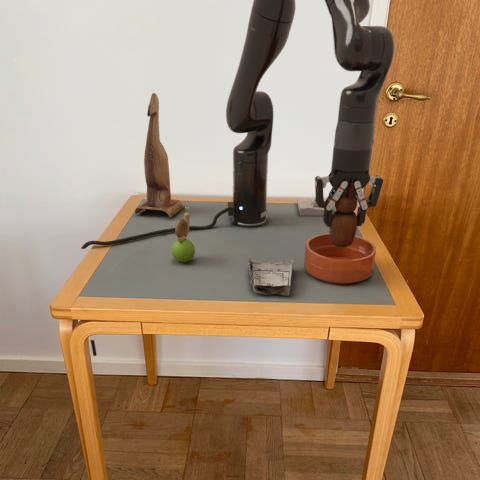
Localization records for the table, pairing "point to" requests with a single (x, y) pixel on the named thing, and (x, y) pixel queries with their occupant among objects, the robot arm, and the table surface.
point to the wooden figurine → (344, 220)
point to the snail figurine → (183, 240)
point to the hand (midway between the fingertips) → (343, 225)
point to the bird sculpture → (157, 167)
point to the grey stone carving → (309, 207)
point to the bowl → (339, 259)
